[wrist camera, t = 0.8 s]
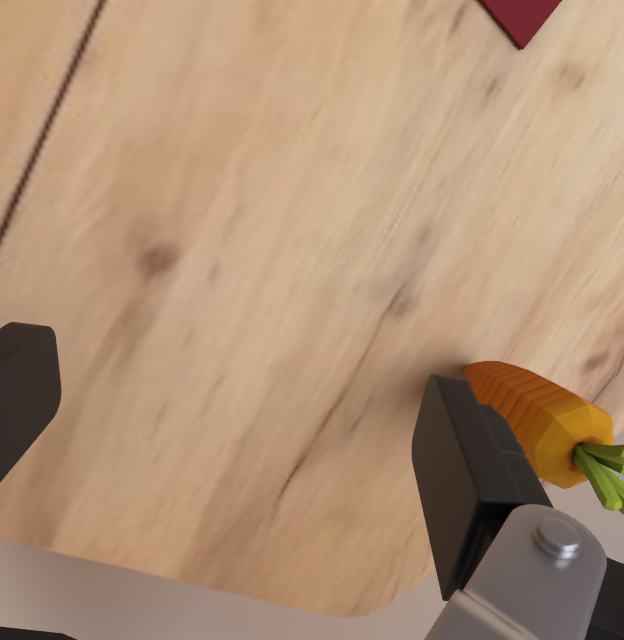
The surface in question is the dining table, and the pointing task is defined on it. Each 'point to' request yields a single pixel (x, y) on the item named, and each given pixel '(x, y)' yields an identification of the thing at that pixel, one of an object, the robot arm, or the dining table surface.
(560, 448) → the carrot
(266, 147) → the dining table surface
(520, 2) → the cloth
